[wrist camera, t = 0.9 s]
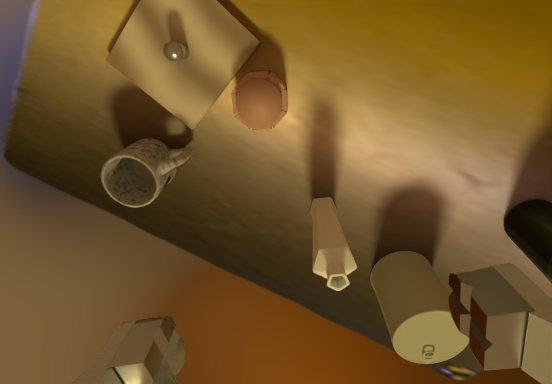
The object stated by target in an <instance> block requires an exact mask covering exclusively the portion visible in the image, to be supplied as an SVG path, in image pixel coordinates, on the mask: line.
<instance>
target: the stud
mask: <svg viewBox="0 0 552 384" xmlns="http://www.w3.org/2000/svg"><path fill="white" fill-rule="evenodd" d="M163 53H164V55H165V57H166V58H167V59H168V60H170V61H179V60H185V59H187V58H188V56H189V48H188V47H187V45H186V44H184V43H182V42H168V43H166V44H165V45H164V47H163Z"/></svg>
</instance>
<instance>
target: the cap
mask: <svg viewBox="0 0 552 384" xmlns="http://www.w3.org/2000/svg"><path fill="white" fill-rule="evenodd" d="M232 92H233V93H232V103H233V111H234V114H236V116H235V117H237V118H238V119H239V120H240V121H241V122H242V123H244V124H245V125H246V126H247V127H248V128H249V129H251V127H252V130H259V129H272V127H273V128H274V127H275V126H276V125H277V123H278V122H279V121H280V120H281V119H282V118H283V117H284V115H285V114H286V113H287V107H288V104H287V86H286V84H285V83H284V82H283V81H282V80H281V79H280V78H278V77H277V76H276V75H275V74H274V73H273V72H272V71H271V73H270V70H267V71H252V72H249V73H247V74H246V75H244V77H243V78H242V79H241V80H240V82H239V83H238V84H237V86H236V87H235V88H234V89H233V91H232Z"/></svg>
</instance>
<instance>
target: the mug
mask: <svg viewBox="0 0 552 384" xmlns="http://www.w3.org/2000/svg"><path fill="white" fill-rule="evenodd" d="M191 156H192V149H191V148H190V147H185V148H181V149H172V150H171V148H170V147H169V146H168V145H166V144H165V143H164V142H162V141H160V140H157V139H153V138H144V139H140V140H138V141H136V142H135V143H133V144H131V145H130V146H128V147H127V148H125V149H123V150H122V151H120V152H118V153H117V154H115V155H114V156H112V157H110V158H109V159H108V160H107V161H106V162H105V163H104V164H103V166H102V169H101V181H102V184H103V186H104V188H105V190H106V191H107V193H108V194H109V195H110V196H111V197H112V198H113V199H114V200H115V201H117V202H119V203H121V204H123V205H125V206H129V207H142V206H146V205H148V204H150V203H151V202H152V201H153V200H154V199H155V198H156V197H157V196H158V195H159V194H160V193H161V191H162V190H163V189H164V188H165V187H166V186H167V185H168V184H169V182H170V181H171V180H172V179H173V178H174V176H175V175H176V172H177V168H178V166H179V165H181V164H183V163H184V162H186V161H187V160H188V159H189V158H190V157H191Z"/></svg>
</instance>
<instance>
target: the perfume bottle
mask: <svg viewBox="0 0 552 384" xmlns="http://www.w3.org/2000/svg"><path fill="white" fill-rule="evenodd" d="M309 214H310V215H311V217H312V218H313V272H314V273H316V274H318V275H321V276H323V277H325V278H327V279H328V282H327V286H328V287H330V288H332V289H334V290H337V291H340V290H342V289H343V288H345V287H346V286H348V285H349V280H348V278H347V276H346V275H348V274H349V273H351V272H352V271H354V270H355V269H356V268H357V266H356V263H355V261H354V258H353V256H352V253H351V251H350V249H349V246H348V244H347V241H346V239H345V236H344V234H343V231H342V229H341V227H340V224H339V222H338V219H337V217H336V214H337V209H336V207H335V204H334V202H333V200H332V198H331V197H326V198H316V199H313V201H312V205H311V209H310V213H309Z"/></svg>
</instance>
